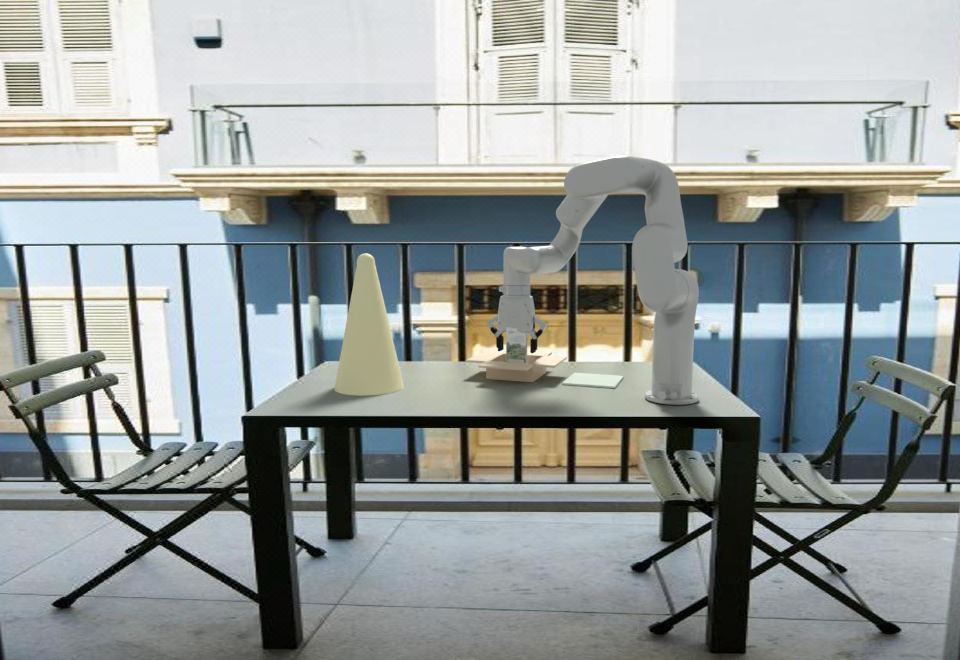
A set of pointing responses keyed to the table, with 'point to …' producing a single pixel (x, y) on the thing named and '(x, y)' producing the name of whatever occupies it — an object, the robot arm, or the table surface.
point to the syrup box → (516, 346)
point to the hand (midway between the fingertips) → (516, 351)
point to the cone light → (367, 339)
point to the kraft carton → (516, 365)
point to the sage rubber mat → (593, 380)
